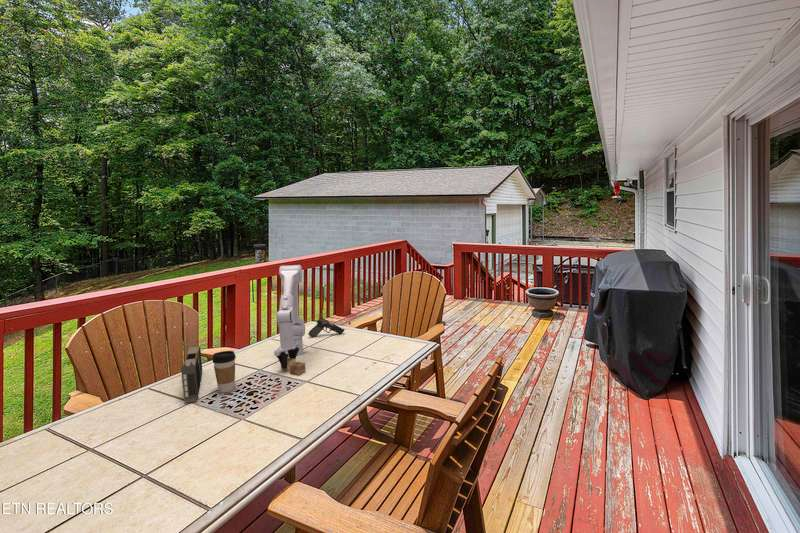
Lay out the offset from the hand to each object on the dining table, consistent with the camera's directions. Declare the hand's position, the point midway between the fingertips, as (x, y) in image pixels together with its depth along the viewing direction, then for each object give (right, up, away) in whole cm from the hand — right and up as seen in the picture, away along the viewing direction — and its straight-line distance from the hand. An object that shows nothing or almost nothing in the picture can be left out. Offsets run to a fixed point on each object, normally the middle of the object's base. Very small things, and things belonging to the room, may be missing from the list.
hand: (288, 366), depth 179 cm
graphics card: (-34, -5, -15) cm, 37 cm away
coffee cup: (-19, -5, -19) cm, 27 cm away
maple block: (0, -1, 0) cm, 1 cm away
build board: (+3, -2, -4) cm, 5 cm away
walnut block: (+6, -2, -6) cm, 8 cm away
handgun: (+8, +5, +49) cm, 50 cm away
